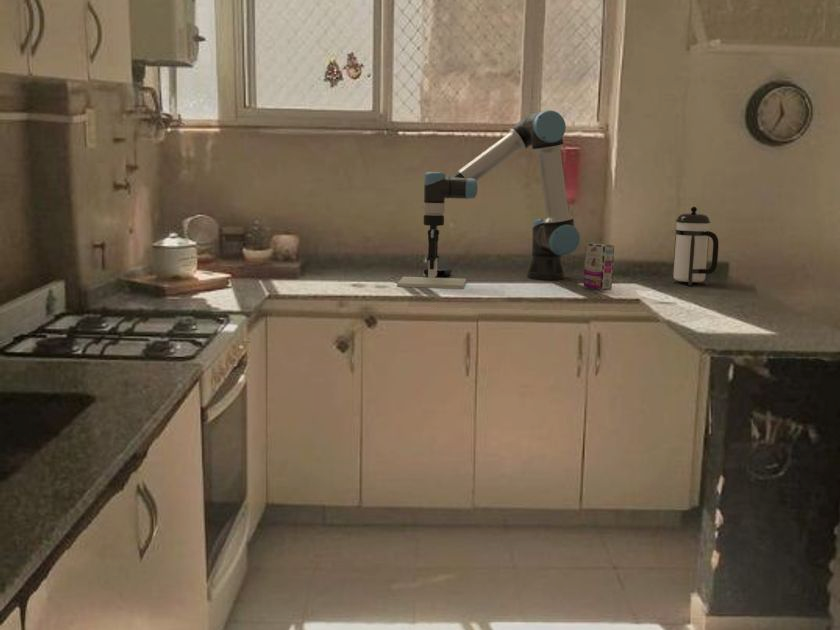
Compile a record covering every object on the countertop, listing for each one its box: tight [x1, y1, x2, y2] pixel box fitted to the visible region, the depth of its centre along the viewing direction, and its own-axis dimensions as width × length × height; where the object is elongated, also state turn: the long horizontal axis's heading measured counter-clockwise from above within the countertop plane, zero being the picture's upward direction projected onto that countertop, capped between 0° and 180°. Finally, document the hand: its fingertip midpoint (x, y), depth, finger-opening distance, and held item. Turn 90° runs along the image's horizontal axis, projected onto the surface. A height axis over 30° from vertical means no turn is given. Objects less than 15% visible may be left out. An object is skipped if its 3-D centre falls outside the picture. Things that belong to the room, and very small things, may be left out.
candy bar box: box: [582, 242, 615, 291], centre depth 337 cm, size 11×5×16 cm, turn 27°
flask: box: [423, 268, 453, 278], centre depth 362 cm, size 9×3×11 cm
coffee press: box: [668, 206, 719, 287], centre depth 353 cm, size 17×16×30 cm
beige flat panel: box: [396, 276, 467, 290], centre depth 339 cm, size 24×20×1 cm
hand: (432, 276), depth 339 cm, fingers open, 7 cm apart
